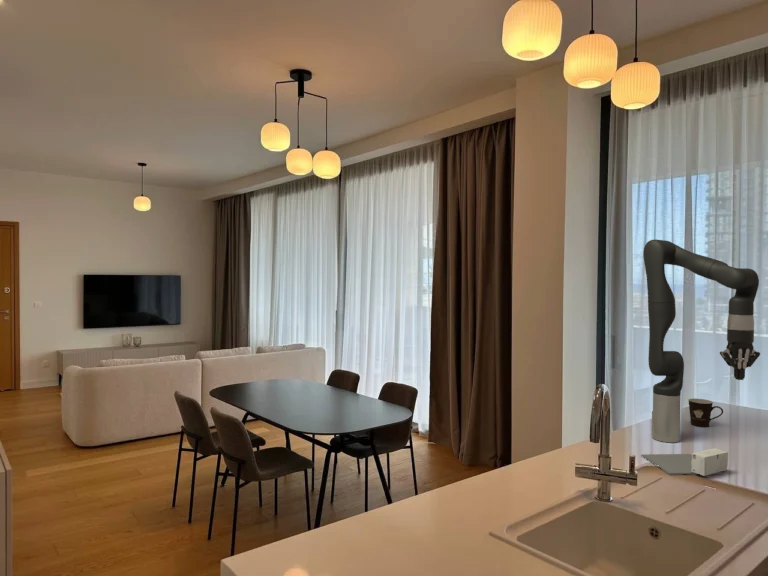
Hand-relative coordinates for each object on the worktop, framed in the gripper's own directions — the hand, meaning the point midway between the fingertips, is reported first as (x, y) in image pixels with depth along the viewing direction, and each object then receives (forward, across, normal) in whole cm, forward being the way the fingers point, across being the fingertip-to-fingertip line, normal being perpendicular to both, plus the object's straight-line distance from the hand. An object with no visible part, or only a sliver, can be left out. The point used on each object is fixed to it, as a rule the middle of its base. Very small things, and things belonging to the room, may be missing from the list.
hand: (739, 379), depth 182 cm
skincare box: (+23, +12, +9) cm, 28 cm away
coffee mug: (+27, -13, -38) cm, 49 cm away
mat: (+27, +22, +4) cm, 35 cm away
